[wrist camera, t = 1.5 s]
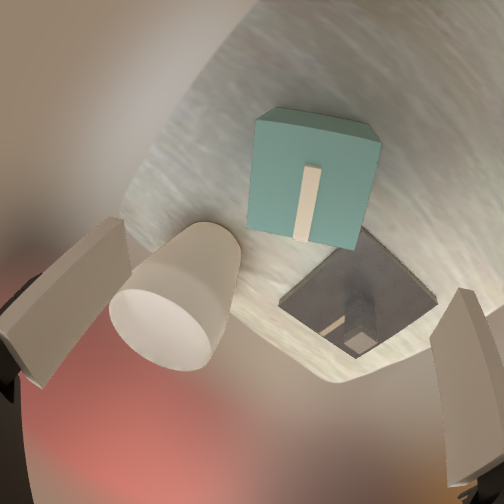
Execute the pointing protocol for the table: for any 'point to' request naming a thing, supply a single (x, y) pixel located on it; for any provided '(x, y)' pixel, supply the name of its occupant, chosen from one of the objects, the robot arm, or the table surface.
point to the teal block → (311, 176)
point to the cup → (180, 298)
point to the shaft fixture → (359, 297)
